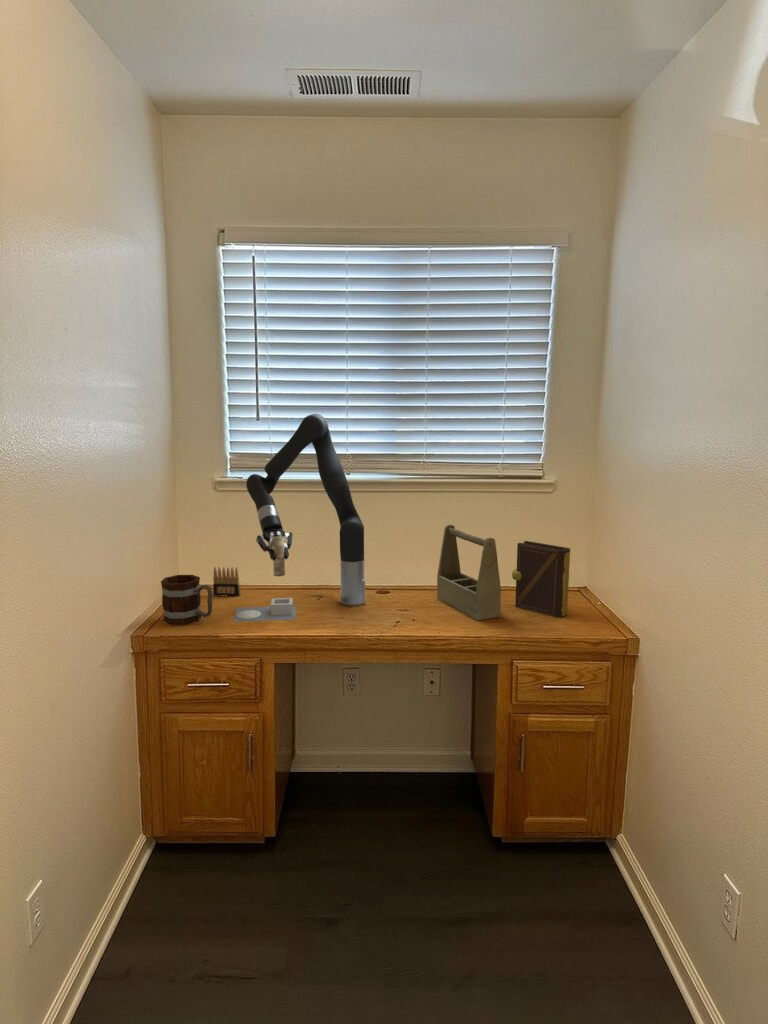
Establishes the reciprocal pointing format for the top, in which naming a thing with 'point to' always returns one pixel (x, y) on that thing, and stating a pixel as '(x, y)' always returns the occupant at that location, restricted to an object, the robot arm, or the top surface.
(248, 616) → the board
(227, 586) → the ammunition clip
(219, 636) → the top surface
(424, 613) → the top surface
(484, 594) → the caddy
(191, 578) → the mug
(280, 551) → the peg
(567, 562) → the book
